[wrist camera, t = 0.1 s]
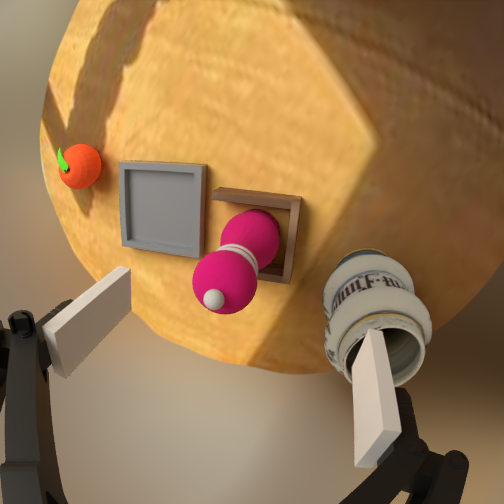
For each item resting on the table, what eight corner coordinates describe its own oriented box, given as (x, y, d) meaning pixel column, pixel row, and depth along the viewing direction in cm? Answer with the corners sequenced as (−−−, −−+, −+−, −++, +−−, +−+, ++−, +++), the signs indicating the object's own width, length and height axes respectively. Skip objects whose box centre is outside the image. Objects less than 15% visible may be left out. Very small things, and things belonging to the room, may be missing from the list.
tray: (126, 160, 44) (118, 162, 43) (206, 164, 42) (201, 166, 41) (128, 241, 49) (122, 245, 48) (203, 253, 47) (199, 258, 46)
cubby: (219, 187, 43) (211, 192, 40) (301, 196, 42) (299, 202, 38) (216, 261, 47) (209, 271, 44) (291, 273, 46) (289, 284, 42)
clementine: (69, 156, 46) (40, 162, 40) (92, 128, 44) (62, 131, 37) (92, 192, 48) (64, 203, 41) (117, 166, 45) (88, 173, 39)
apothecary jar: (420, 278, 42) (462, 355, 26) (362, 330, 47) (372, 419, 30) (365, 221, 41) (392, 282, 25) (305, 282, 46) (294, 365, 29)
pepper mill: (261, 265, 46) (221, 353, 28) (221, 233, 46) (156, 303, 27) (294, 228, 43) (272, 304, 25) (252, 194, 43) (199, 245, 24)
